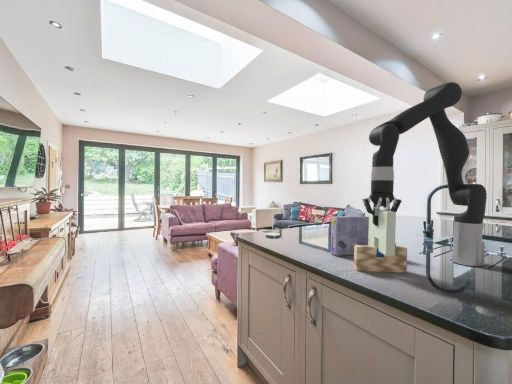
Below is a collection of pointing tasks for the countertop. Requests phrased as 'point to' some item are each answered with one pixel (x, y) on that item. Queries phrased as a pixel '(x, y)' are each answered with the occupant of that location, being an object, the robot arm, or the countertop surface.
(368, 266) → the oak u-shaped block
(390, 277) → the countertop surface
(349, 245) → the cake pan box
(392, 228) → the sage board
